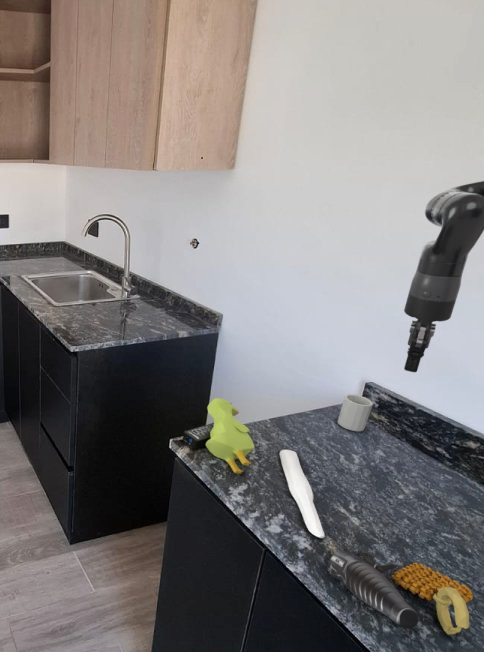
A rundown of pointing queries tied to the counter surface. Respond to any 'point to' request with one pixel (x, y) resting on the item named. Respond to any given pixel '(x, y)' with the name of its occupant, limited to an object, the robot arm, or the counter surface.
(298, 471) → the white long flat piece
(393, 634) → the counter surface
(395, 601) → the ribbed torch
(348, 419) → the pot
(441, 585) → the ornament
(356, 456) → the counter surface
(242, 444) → the toy
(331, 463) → the counter surface
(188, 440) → the multiport hub
